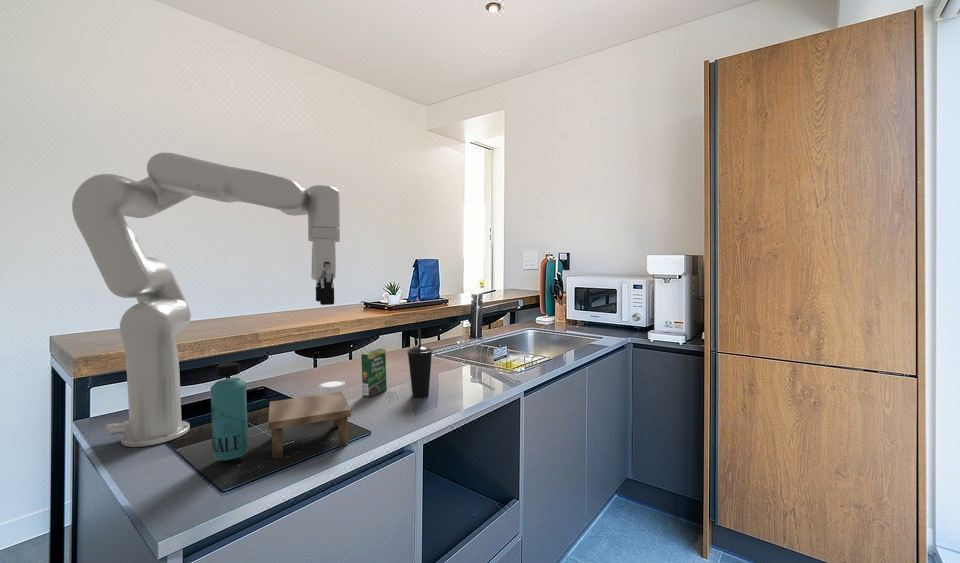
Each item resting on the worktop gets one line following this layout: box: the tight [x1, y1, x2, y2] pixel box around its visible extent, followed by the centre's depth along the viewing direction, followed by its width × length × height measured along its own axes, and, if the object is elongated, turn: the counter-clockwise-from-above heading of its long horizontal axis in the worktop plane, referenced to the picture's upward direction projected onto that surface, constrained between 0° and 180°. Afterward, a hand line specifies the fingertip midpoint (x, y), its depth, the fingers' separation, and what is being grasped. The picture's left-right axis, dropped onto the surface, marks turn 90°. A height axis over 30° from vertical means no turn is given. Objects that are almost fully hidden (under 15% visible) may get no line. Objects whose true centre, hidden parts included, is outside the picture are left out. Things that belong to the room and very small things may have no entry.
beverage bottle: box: [210, 362, 250, 461], centre depth 84 cm, size 6×7×20 cm
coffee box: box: [361, 348, 388, 398], centre depth 126 cm, size 8×3×13 cm, turn 150°
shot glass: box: [318, 380, 346, 398], centre depth 113 cm, size 7×7×7 cm
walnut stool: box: [267, 392, 352, 460], centre depth 93 cm, size 16×14×8 cm
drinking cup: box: [406, 328, 434, 399], centre depth 124 cm, size 8×8×20 cm
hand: (324, 302), depth 106 cm, fingers open, 9 cm apart
